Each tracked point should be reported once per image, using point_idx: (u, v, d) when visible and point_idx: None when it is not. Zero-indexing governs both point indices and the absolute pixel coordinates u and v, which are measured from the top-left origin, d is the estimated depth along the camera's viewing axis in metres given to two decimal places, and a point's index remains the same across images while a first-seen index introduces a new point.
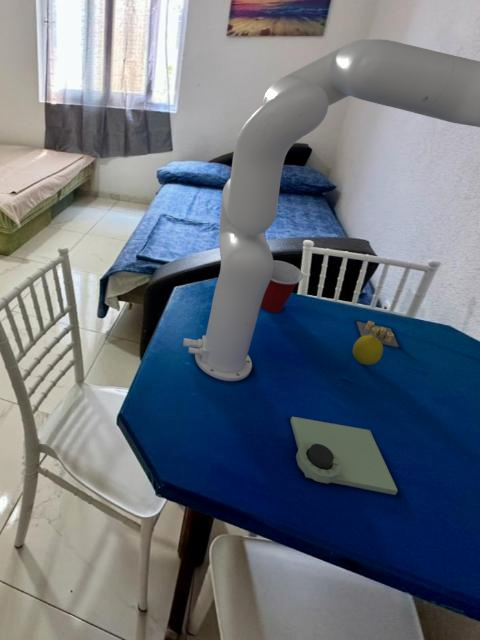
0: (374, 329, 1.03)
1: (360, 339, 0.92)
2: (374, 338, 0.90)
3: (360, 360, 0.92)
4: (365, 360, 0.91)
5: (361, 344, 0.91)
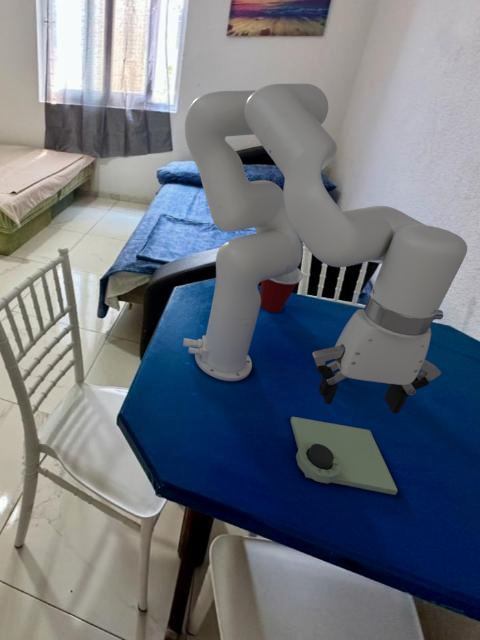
0: None
1: None
2: None
3: None
4: None
5: None
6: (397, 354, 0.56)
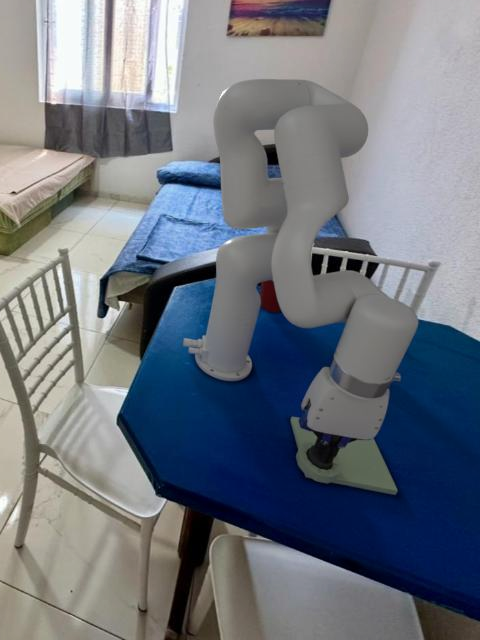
0: None
1: None
2: None
3: None
4: None
5: None
6: (357, 412, 0.60)
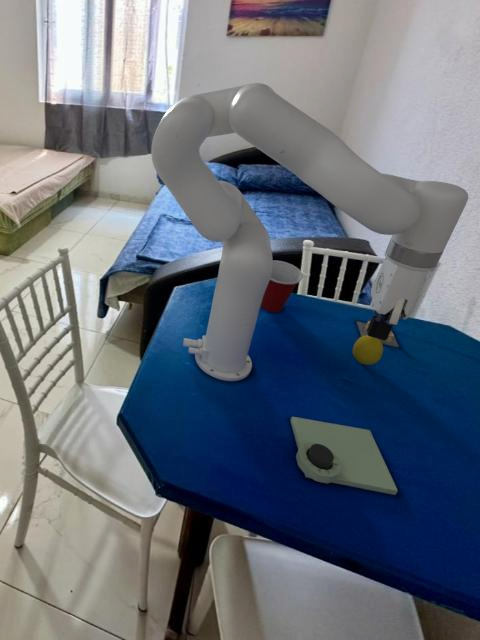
0: None
1: (360, 339, 0.92)
2: (374, 338, 0.90)
3: (360, 360, 0.92)
4: (365, 360, 0.91)
5: (361, 344, 0.91)
6: None
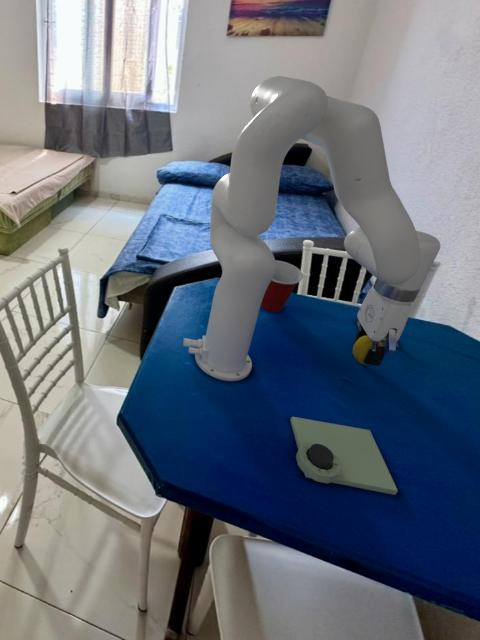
0: None
1: (360, 339, 0.92)
2: None
3: (360, 360, 0.92)
4: None
5: (361, 344, 0.91)
6: None
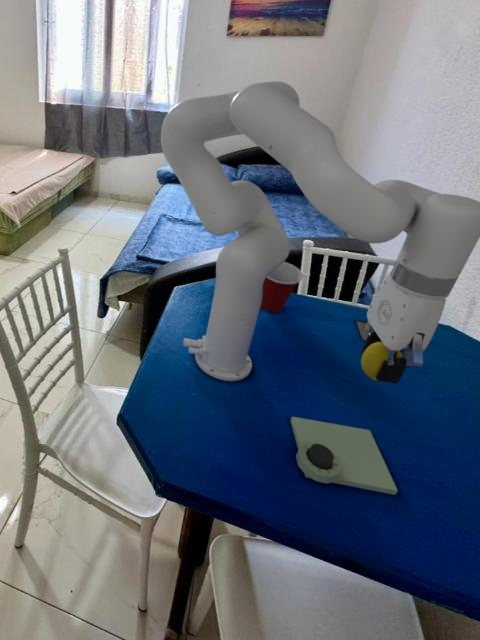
0: None
1: (371, 347, 0.68)
2: None
3: (371, 375, 0.68)
4: None
5: (373, 354, 0.67)
6: None
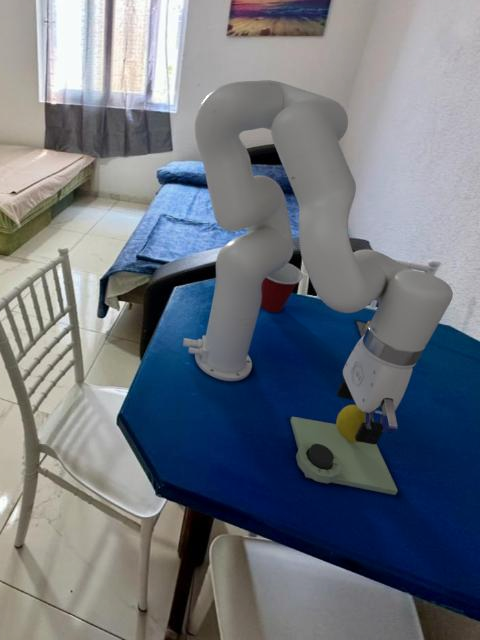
0: None
1: (345, 410, 0.73)
2: None
3: (345, 437, 0.72)
4: (351, 438, 0.71)
5: (347, 417, 0.72)
6: None
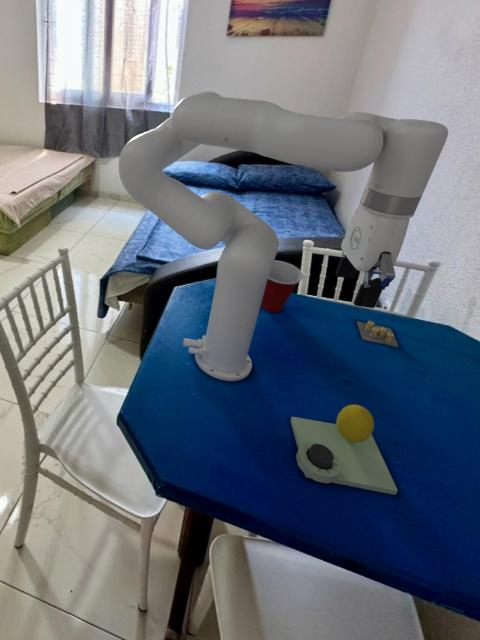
0: (374, 329, 1.03)
1: (345, 410, 0.73)
2: (363, 410, 0.71)
3: (345, 437, 0.72)
4: (351, 438, 0.71)
5: (347, 417, 0.72)
6: None
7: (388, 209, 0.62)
